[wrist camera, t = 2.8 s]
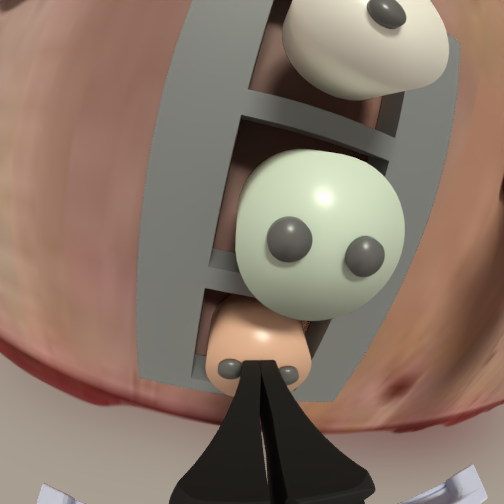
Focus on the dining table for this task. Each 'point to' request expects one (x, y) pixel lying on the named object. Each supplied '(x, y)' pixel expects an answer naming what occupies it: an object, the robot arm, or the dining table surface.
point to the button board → (215, 178)
